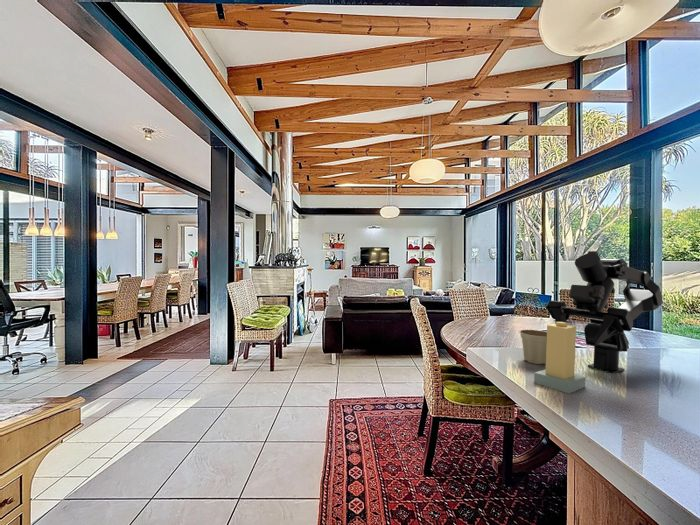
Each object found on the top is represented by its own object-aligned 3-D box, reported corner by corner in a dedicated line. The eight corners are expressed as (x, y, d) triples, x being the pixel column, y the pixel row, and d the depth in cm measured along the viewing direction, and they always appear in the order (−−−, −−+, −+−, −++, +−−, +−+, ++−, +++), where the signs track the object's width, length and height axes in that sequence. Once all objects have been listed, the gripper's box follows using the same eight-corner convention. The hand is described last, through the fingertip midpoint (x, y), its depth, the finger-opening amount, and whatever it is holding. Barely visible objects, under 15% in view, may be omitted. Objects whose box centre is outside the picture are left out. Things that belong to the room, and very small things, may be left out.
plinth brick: (551, 377, 90) (551, 367, 90) (585, 387, 84) (585, 376, 84) (534, 382, 86) (534, 372, 86) (568, 393, 79) (568, 382, 79)
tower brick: (555, 370, 88) (556, 320, 88) (574, 375, 84) (576, 323, 84) (545, 373, 85) (547, 321, 85) (564, 379, 82) (566, 325, 81)
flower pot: (559, 367, 99) (560, 337, 98) (523, 364, 100) (524, 335, 100) (547, 358, 108) (548, 330, 108) (514, 355, 110) (515, 328, 110)
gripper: (550, 272, 99) (527, 313, 93) (630, 275, 83) (608, 326, 77) (563, 297, 103) (542, 339, 98) (641, 306, 87) (622, 356, 82)
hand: (575, 339), depth 88 cm, fingers open, 9 cm apart
